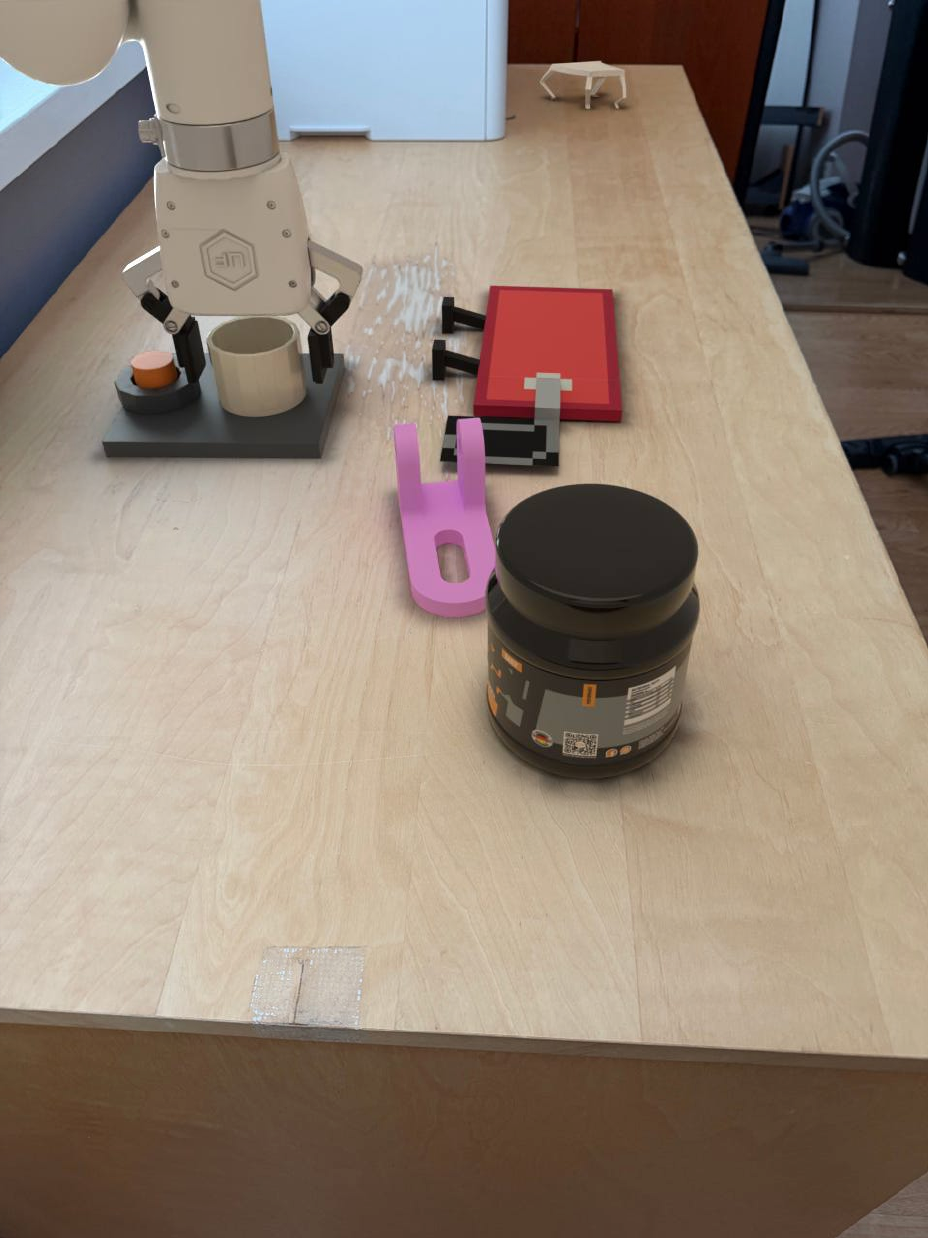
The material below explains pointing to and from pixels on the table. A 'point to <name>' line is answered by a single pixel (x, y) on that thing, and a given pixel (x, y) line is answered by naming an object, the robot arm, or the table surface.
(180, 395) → the dark grey flat block
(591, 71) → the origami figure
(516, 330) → the red board with handle
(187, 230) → the robot arm
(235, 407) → the cup
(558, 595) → the supplement container
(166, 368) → the button
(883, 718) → the table surface
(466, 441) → the bracket
